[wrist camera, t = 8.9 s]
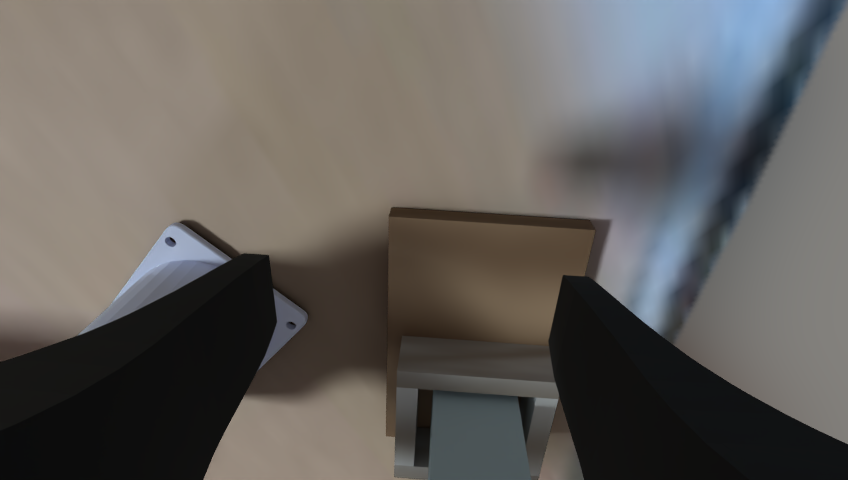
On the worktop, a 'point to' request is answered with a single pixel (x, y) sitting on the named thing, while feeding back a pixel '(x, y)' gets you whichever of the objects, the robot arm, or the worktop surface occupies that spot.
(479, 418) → the peg
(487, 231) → the board
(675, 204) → the worktop surface
